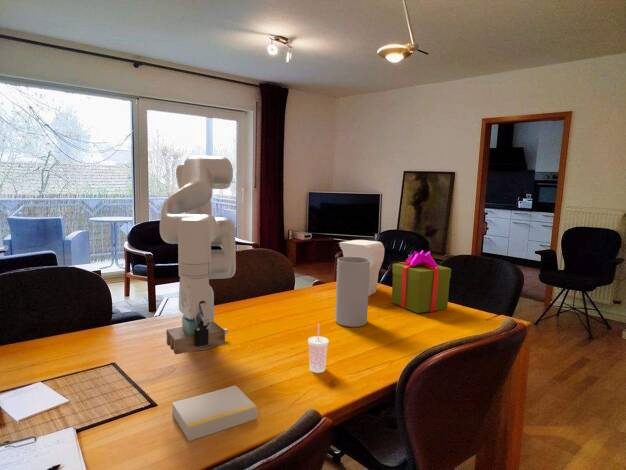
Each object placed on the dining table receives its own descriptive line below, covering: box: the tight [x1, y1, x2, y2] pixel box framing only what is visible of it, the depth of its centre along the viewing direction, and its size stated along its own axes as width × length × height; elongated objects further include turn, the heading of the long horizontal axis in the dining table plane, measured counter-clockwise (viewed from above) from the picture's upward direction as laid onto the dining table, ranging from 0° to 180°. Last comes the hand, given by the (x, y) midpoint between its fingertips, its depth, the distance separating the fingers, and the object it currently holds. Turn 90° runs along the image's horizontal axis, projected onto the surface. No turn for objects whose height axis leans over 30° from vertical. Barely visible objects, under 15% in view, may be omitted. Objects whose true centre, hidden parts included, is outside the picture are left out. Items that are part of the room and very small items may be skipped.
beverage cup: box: [307, 322, 330, 374], centre depth 125 cm, size 6×6×14 cm
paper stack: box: [337, 239, 386, 297], centre depth 209 cm, size 21×27×26 cm
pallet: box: [165, 321, 226, 355], centre depth 104 cm, size 12×8×4 cm, turn 124°
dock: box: [171, 385, 258, 442], centre depth 99 cm, size 16×12×3 cm
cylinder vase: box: [334, 256, 370, 328], centre depth 166 cm, size 12×12×25 cm
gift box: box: [391, 249, 452, 314], centre depth 189 cm, size 21×21×25 cm
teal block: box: [181, 314, 209, 335], centre depth 104 cm, size 5×5×3 cm
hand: (195, 339), depth 104 cm, fingers closed on pallet, 7 cm apart
